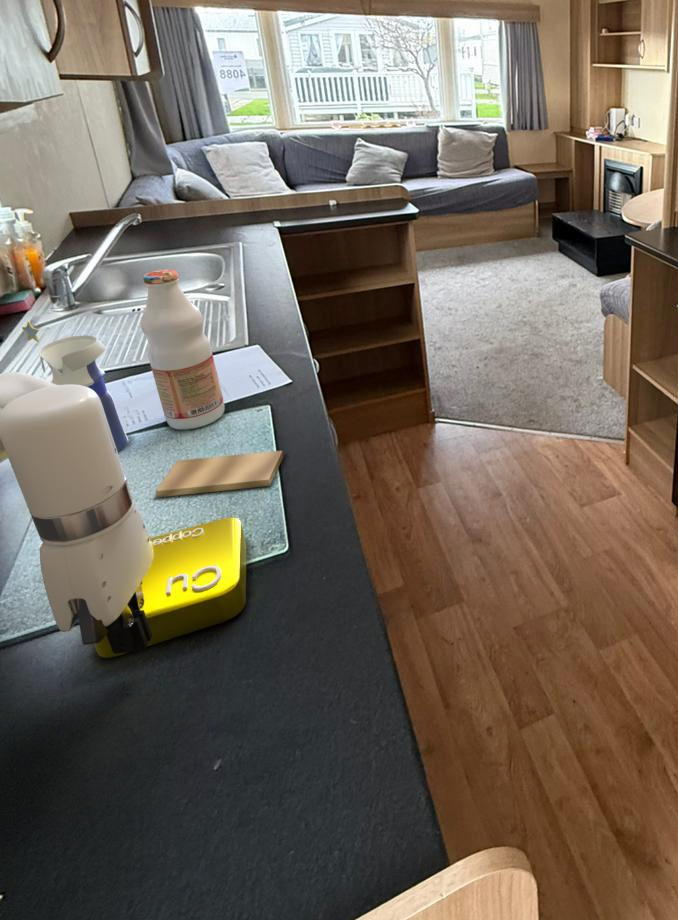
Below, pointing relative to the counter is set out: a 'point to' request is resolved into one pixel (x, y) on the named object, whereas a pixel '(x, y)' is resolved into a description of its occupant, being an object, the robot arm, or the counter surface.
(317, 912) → the counter surface
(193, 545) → the element tile
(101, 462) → the robot arm
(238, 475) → the wooden board
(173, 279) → the fruit juice
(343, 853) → the counter surface
